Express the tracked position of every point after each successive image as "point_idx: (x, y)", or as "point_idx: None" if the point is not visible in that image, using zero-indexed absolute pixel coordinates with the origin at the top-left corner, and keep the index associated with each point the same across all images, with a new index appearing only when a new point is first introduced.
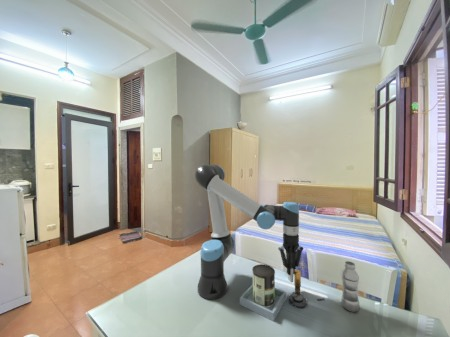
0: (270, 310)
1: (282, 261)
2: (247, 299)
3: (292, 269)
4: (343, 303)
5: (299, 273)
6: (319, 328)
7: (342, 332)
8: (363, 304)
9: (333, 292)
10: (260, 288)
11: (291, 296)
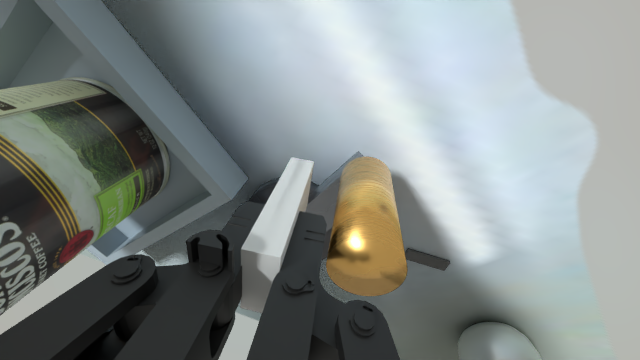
0: (100, 253)
1: (18, 326)
2: None
3: (263, 305)
4: (462, 352)
5: (359, 289)
6: None
7: None
8: (577, 347)
9: (567, 258)
10: None
11: None
